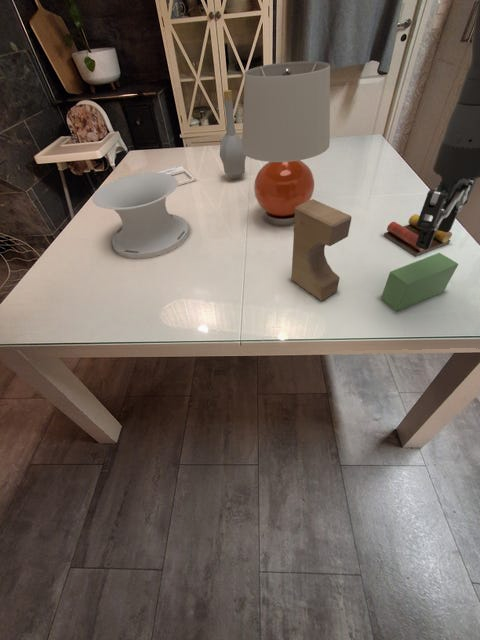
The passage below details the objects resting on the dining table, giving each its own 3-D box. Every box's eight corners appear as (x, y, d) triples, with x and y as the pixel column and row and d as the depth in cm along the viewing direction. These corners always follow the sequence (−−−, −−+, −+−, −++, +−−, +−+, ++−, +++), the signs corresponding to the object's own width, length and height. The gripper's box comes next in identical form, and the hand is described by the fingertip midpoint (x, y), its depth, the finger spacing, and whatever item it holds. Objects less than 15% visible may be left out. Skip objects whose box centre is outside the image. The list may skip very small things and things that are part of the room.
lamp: (286, 193, 112) (290, 58, 84) (336, 216, 97) (362, 61, 69) (232, 216, 103) (217, 73, 75) (279, 245, 89) (281, 81, 61)
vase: (121, 222, 107) (103, 177, 96) (189, 213, 107) (179, 168, 96) (106, 262, 90) (81, 214, 79) (187, 252, 90) (175, 203, 79)
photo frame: (181, 165, 138) (194, 177, 127) (181, 168, 139) (195, 180, 128) (151, 173, 135) (162, 186, 123) (151, 176, 136) (162, 189, 124)
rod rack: (449, 243, 82) (455, 230, 80) (415, 256, 80) (420, 243, 77) (415, 224, 90) (419, 212, 87) (383, 236, 88) (387, 223, 85)
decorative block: (337, 292, 73) (353, 215, 58) (320, 302, 71) (332, 225, 56) (306, 271, 80) (313, 197, 65) (290, 279, 78) (293, 206, 63)
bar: (443, 291, 70) (458, 263, 64) (396, 311, 67) (407, 284, 61) (426, 279, 73) (439, 252, 67) (380, 298, 70) (390, 271, 64)
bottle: (235, 171, 131) (227, 86, 109) (254, 177, 125) (250, 88, 103) (216, 180, 126) (204, 93, 104) (235, 186, 120) (226, 95, 98)
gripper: (482, 153, 39) (436, 261, 50) (517, 131, 45) (470, 230, 56) (423, 146, 43) (393, 247, 54) (463, 127, 50) (429, 220, 61)
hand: (432, 238), depth 55 cm, fingers open, 8 cm apart
